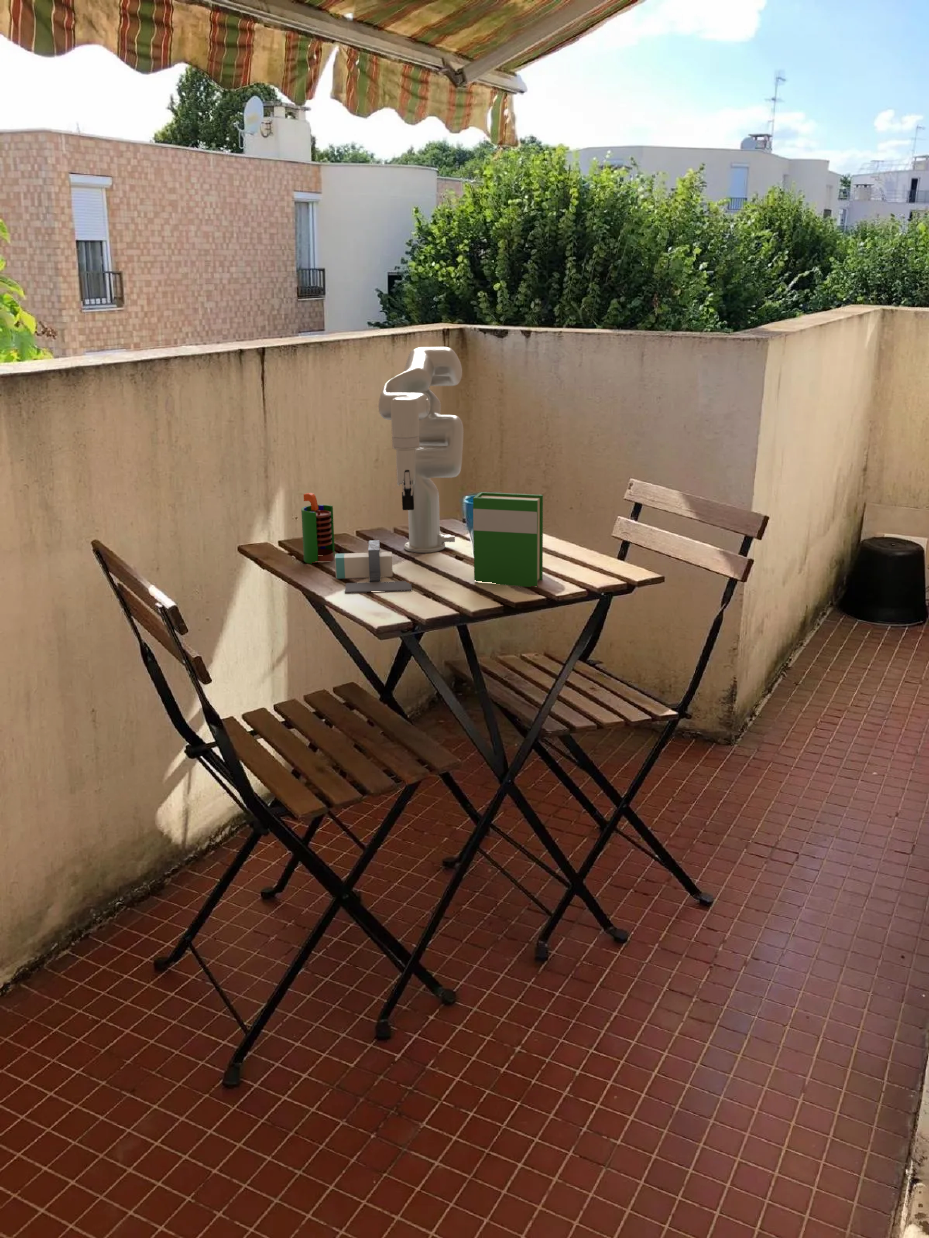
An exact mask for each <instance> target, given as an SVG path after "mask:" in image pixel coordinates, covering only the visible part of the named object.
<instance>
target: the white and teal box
mask: <svg viewBox="0 0 929 1238" xmlns="http://www.w3.org/2000/svg"><path fill="white" fill-rule="evenodd" d="M379 554H380V577H381V578H383V577H384V578H385V577H386V578H387V577H388V578H389V577H394V574H393V573H394V572H393V553H392V551H382V552H381V551H380V552H379ZM334 567H335V568H334V569H335V579H360V578H364V579H365V578H370V574H369V553H368V552H353V553H352V552H351V553H349V552H347V553H335V556H334Z"/></svg>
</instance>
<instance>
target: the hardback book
mask: <svg viewBox="0 0 929 1238" xmlns="http://www.w3.org/2000/svg"><path fill="white" fill-rule="evenodd" d="M472 509H473V510H472V511H473V512H472V514H473V516H472V517H473V519H472V521H473V522H472V523H473V526H472V527H473V528H472V529H473V581H474V580H476V581H482V582H492V583H496V584H500V585H499V586H514V587H524V588H525V587H528V588H532V587H531V586H537V587H538V581H543V577H544V576H543V574H544V573H543V571H544V568H543V565H544V564H543V563H544V562H543V561H544V559H543V557H544V555H543V554H544V551H543V550H544V549H543V548H544V547H543V546H544V545H543V544H544V520H543V519H544V494H532V493H531V494H528V493H514V492H513V493H509V492H508V493H507V492H492V491H491V492H488V491H487V492H485V491H480V492H478V493H477V494H476V495H475V496H474V497H472ZM496 584H495V585H496Z"/></svg>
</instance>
